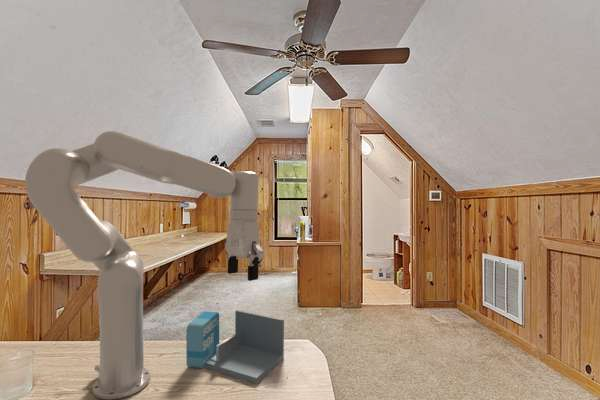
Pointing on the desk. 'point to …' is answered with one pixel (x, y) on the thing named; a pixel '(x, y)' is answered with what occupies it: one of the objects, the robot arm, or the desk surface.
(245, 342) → the l-shaped stand
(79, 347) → the desk surface
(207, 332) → the data package
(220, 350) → the bookend
